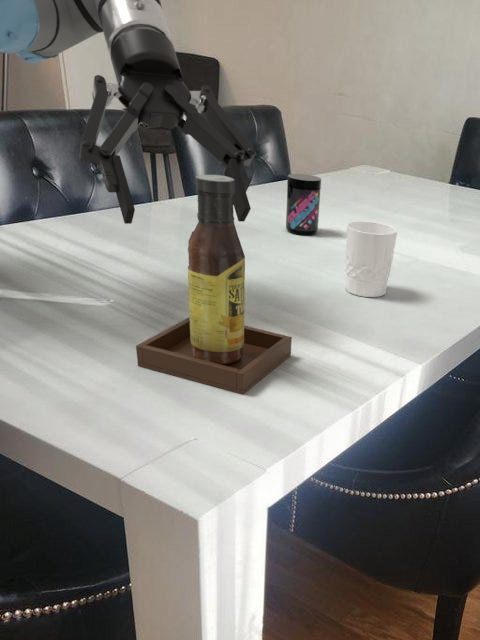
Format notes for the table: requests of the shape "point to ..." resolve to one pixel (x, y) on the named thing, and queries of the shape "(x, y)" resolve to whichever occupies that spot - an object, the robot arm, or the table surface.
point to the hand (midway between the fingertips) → (189, 216)
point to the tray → (177, 359)
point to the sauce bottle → (216, 275)
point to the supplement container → (303, 204)
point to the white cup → (369, 257)
